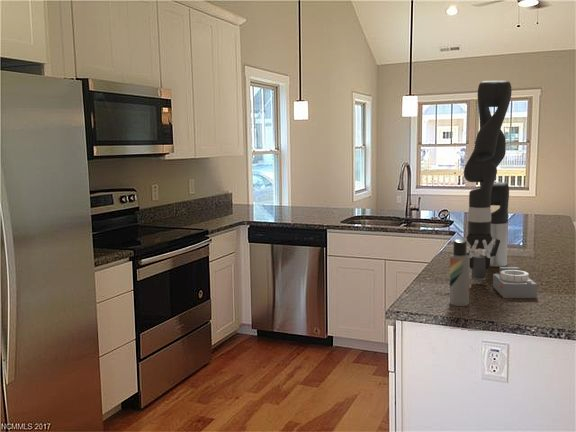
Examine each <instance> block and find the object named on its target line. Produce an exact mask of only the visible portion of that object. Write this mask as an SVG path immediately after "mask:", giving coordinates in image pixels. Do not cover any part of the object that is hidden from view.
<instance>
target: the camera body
mask: <svg viewBox="0 0 576 432" xmlns="http://www.w3.org/2000/svg"><path fill="white" fill-rule="evenodd" d="M498 270H499V271H498V273H493V274H492V287H493V288H494V290H495V291H496V292H498V294H500V296H501V297H502V298H504V299H516V298H517V299H537V296H538V294H537V293H538V283H536V282H535V281H534V280H532V279H531V278H530V276H529V275H530V273H528V272H527V271H523V270H520V267H519V266H501V267H499V269H498Z"/></svg>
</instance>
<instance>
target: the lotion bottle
mask: <svg viewBox="0 0 576 432" xmlns="http://www.w3.org/2000/svg"><path fill="white" fill-rule="evenodd" d="M462 239H463V238H456V239H454V240H453V246H452V247H453V248H452V250H453V251H452V253H453V254H450V255H449V304H450V305H452V306H457V307H466V306H468V305H469V304H470V272H471V271H470V270H471V269H470V257H469V255H466V254H467V253H468V252H467V242H468V241H465V240H462Z"/></svg>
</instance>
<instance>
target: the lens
mask: <svg viewBox="0 0 576 432" xmlns="http://www.w3.org/2000/svg"><path fill="white" fill-rule="evenodd" d="M472 258H473V269H471V279H472V280H474V281H485V280H487V278H486V275H487V272H486V271H487V268H486V256H484V255H483V254H473V256H472Z"/></svg>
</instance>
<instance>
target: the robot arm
mask: <svg viewBox="0 0 576 432" xmlns="http://www.w3.org/2000/svg"><path fill="white" fill-rule="evenodd" d="M477 87H478V88H477V106H478V116H479V117H478V118H479V119H478V120H479V131H478V132H477V135H476V137H475V143H474V146H473V147H474V148H473V151H472V153H471V155H470V157H469V158H468V160H467V161H466V164H465V166H464V169H463V177H464V179H465V181H467V182H468V183H469V182H470V183H479V188H475V189H471V190H470V191H469V194H468V196H469V197H468V210H467V211H468V212H467V213H468V215H467V236H466V238H461V239H462V240H465V241H467V242H468V244H469V249H468V252H467V254H466V255H469V257H470V270H472V269H473V258H472V256H473V255H475V252H476V250H478V249H479V250H482V255H484V256H486V269H489V267H496V268H498V267H507V264H508V230H509V229H508V225H509V224H508V223H509V215H508V214H509V202H510V201H509V200H510V187H509V184H508V183H507V182H502V181H500V182H498V181H497V182H495V181H496V180H495V179H496V178H497V174H498V169H497V168H498V166H499V165H500V164H501V163H502V162H503V160H504V158H505V156H506V153H507V152H506V150H507V149H506V148H507V147H506V144H507V143H506V141H507V140H506V135H505V134H504V132H503V131H502V129H501V128H502V126H503V123H504V121H505V117H506V116H507V115H506V114H507V112H508V109H509V106H510V104H511V103H510V102H511V99H512V90H513V89H512V84H511V82H510V81H508V80H483V81H481V82H480V83H479V84H478V86H477ZM490 108H496V110H495V112H494V113H493V114H491V109H490ZM491 206H499V208H498V209H496V210H495V211H493V212H492V210H491Z"/></svg>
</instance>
